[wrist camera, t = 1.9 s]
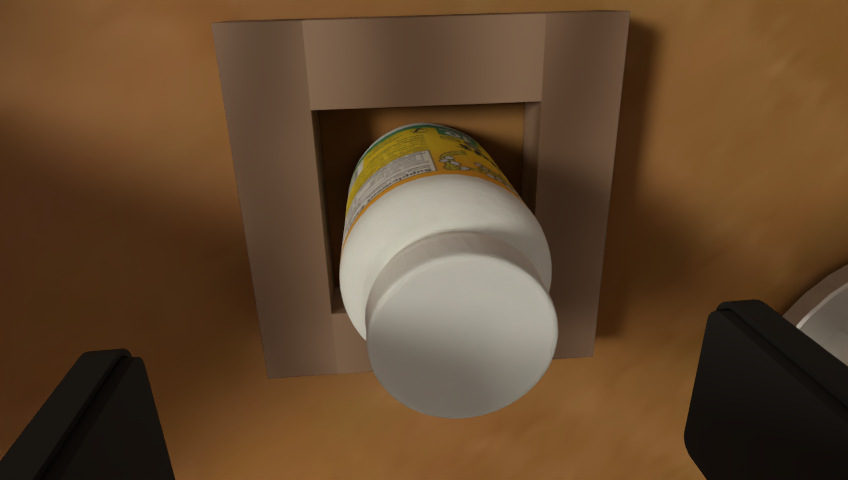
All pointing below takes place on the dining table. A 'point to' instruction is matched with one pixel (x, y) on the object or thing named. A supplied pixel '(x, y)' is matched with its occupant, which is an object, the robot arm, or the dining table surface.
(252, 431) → the dining table surface
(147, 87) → the dining table surface
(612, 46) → the walnut frame
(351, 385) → the dining table surface
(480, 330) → the supplement bottle
